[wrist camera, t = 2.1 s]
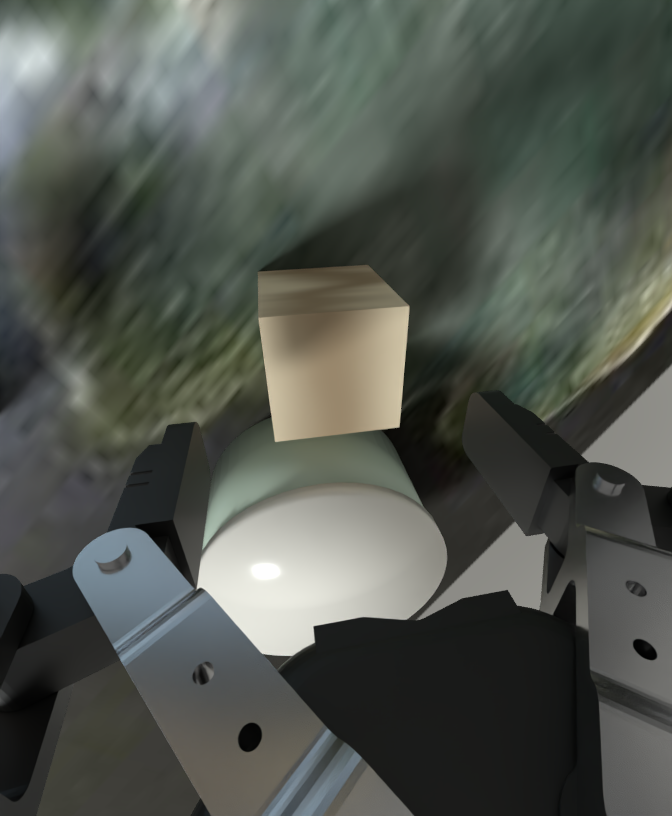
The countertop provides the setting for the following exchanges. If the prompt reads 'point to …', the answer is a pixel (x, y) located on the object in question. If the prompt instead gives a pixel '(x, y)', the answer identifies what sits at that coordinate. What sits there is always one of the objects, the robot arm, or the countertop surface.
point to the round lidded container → (315, 536)
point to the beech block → (332, 350)
